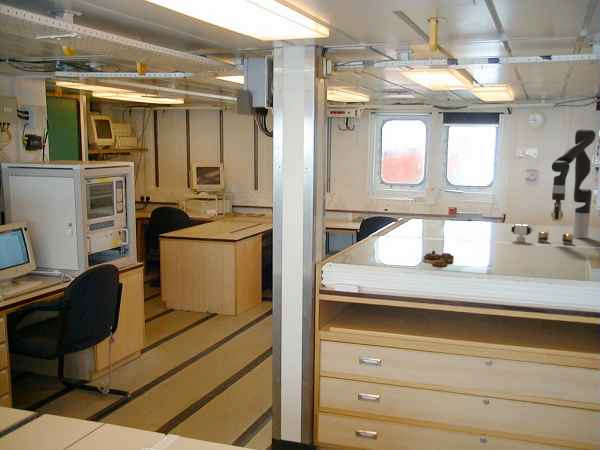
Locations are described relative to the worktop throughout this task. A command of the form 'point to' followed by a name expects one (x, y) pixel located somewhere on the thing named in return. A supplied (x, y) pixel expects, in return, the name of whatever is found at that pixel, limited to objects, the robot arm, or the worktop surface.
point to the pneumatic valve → (521, 231)
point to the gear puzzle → (438, 259)
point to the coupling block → (558, 217)
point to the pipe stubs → (566, 238)
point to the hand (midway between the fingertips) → (556, 218)
